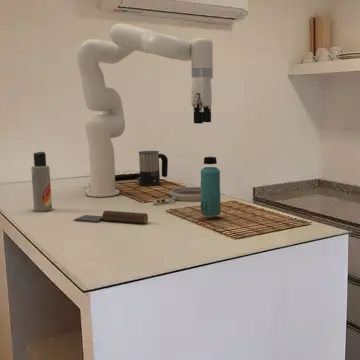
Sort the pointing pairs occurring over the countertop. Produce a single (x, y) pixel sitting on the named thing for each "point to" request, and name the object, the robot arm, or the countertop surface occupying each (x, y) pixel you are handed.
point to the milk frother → (151, 167)
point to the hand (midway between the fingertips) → (202, 122)
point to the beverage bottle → (210, 188)
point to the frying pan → (183, 195)
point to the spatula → (116, 217)
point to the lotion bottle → (41, 183)
